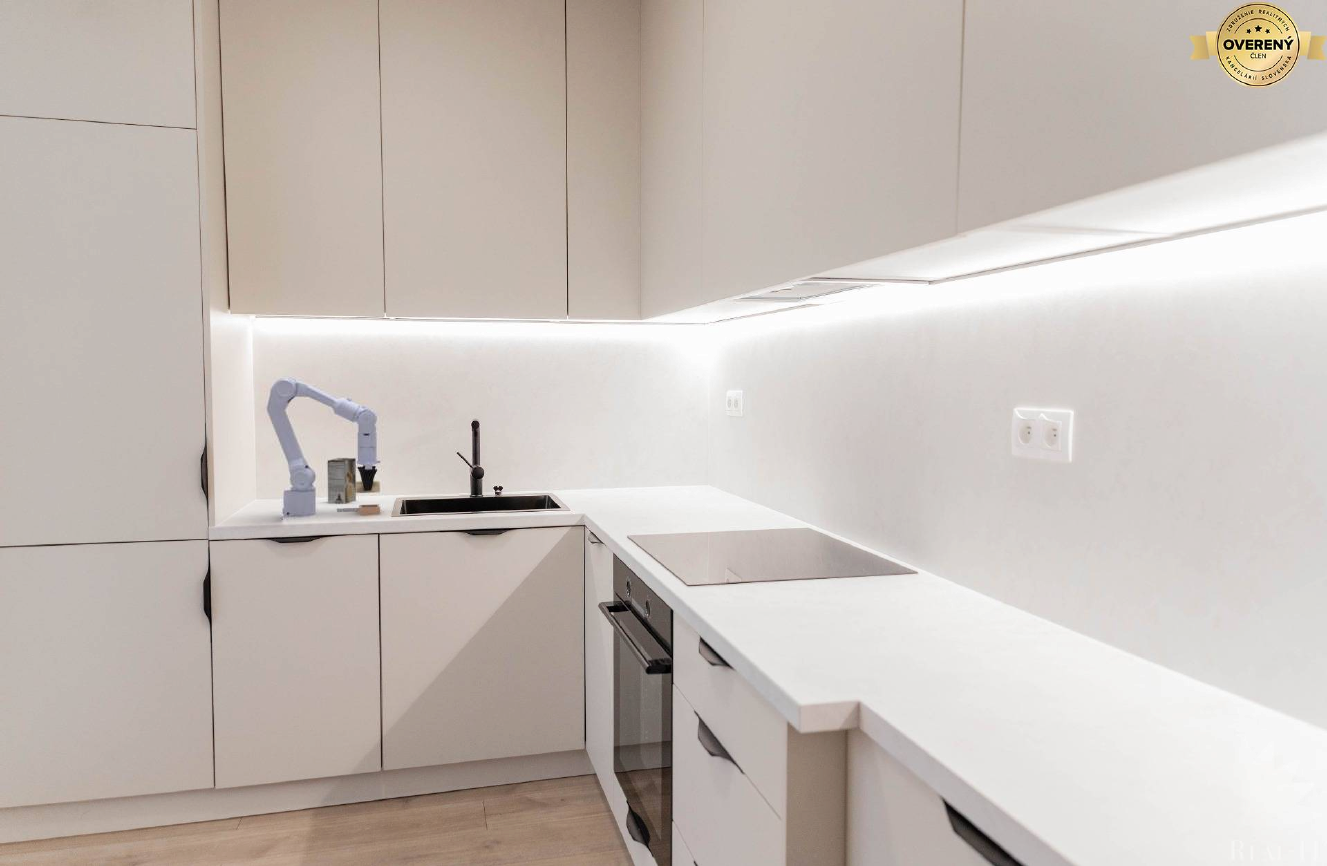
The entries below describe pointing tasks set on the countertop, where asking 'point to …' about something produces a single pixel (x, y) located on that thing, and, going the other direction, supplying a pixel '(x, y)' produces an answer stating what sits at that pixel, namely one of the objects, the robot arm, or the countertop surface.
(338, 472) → the coffee box
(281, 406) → the robot arm
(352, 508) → the mat
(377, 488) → the tan rectangular block
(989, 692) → the countertop surface
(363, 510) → the pink square tray
